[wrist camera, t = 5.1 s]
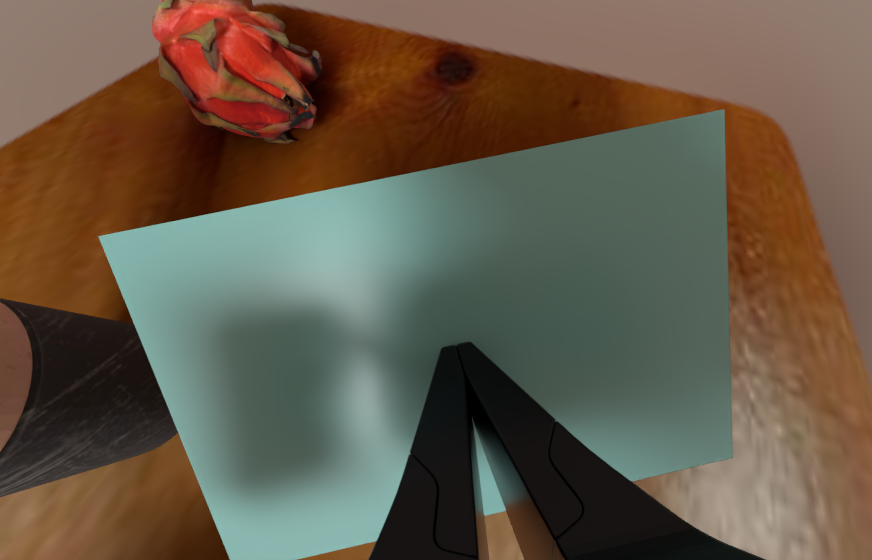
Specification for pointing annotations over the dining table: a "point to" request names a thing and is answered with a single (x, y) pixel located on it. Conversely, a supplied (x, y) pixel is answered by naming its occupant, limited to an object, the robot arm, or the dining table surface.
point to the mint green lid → (439, 323)
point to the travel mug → (72, 395)
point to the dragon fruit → (236, 67)
